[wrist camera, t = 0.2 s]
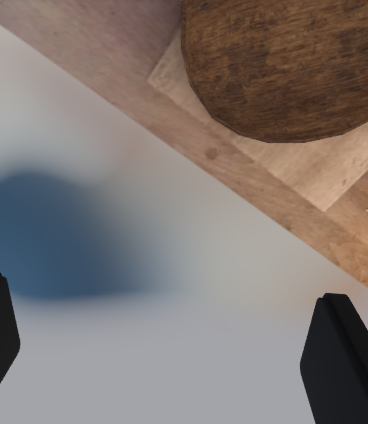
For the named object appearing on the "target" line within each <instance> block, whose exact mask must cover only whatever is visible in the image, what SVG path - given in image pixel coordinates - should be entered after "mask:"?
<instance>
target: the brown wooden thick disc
mask: <svg viewBox="0 0 368 424" xmlns="http://www.w3.org/2000/svg"><path fill="white" fill-rule="evenodd" d="M181 49H182V53H183V57H184V61H185V65H186V70H187V74H188V78H189V82H190V86H191V87H192V89H193V90H194V92H195V93H196V95H197V96H198V98H199V99H200V101H201V102H202V104H203V105H204V107H205V108H206V110H207V111H208V113H209V114H210V115H211V117H212V118H213V119H214V120H216V121H217V122H219V123H220V124H222V125H224V126H225V127H227V128H229V129H230V130H232V131H234V132H235V133H237V134H238V135H241V136H245V137H248V138H252V139H256V140H259V141H263V142H266V143H306V142H310V141H315V140H320V139H324V138H329V137H334V136H339V135H343V134H345V133H347V132H349V131H351V130H353V129H355V128H357V127H359V126H361V125H363V124H365V123H367V122H368V0H184V1H183V5H182V35H181Z"/></svg>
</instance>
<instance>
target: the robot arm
mask: <svg viewBox="0 0 368 424" xmlns="http://www.w3.org/2000/svg"><path fill="white" fill-rule="evenodd" d="M19 349H20V338H19V334H18V329H17V324H16V320H15V315H14V311H13V306H12V301H11V296H10V292H9V287H8V282H7V279H6V278H5V277H3V276H2V275H1V273H0V383H1V381H2V380H3V378H4V376H5V375H6V373H7V371H8V370H9V368H10V366H11V364H12V363H13V361H14V359H15V358H16V356H17V354H18V352H19ZM300 371H301V376H302V380H303V383H304V386H305V390H306V393H307V396H308V400H309V403H310V407H311V410H312V413H313V416H314V420H315V423H316V424H368V330H367V328H366V327H365V325H364V323H363V321H362V320H361V318H360V316H359V314H358V313H357V311H356V309H355V307H354V306H353V304H352V302H351V301H350V299H349V297H348V296H347V295H345V294H333V293H325V294H324V296H323V298H318V299H317V302H316V305H315V309H314V313H313V316H312V320H311V324H310V327H309V331H308V335H307V339H306V342H305V346H304V350H303V354H302V358H301V361H300Z"/></svg>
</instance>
